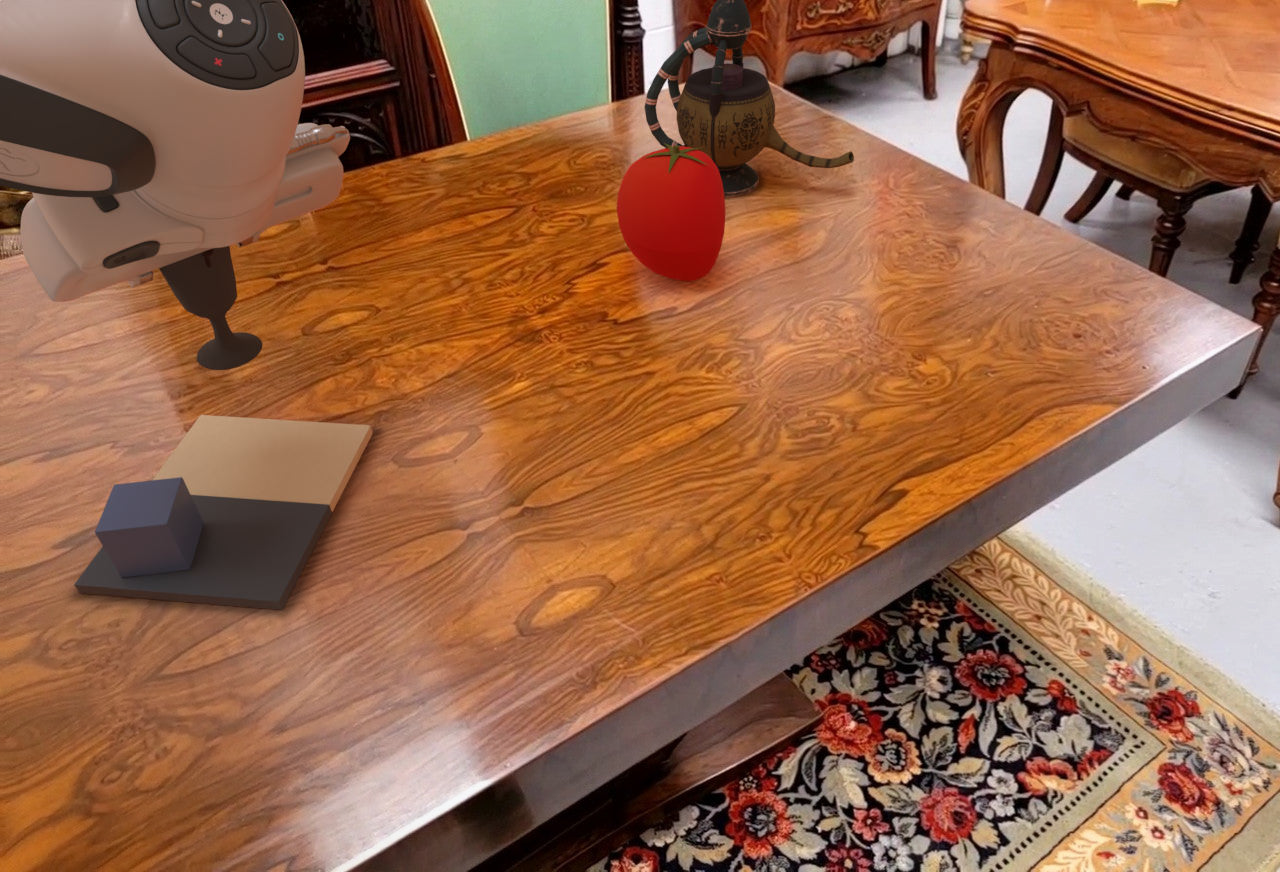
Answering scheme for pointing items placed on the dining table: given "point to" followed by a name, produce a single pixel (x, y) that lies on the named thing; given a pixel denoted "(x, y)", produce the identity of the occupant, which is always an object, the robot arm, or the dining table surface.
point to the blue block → (150, 527)
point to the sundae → (212, 306)
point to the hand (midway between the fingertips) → (190, 255)
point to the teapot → (725, 103)
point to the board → (247, 509)
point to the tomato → (673, 212)
